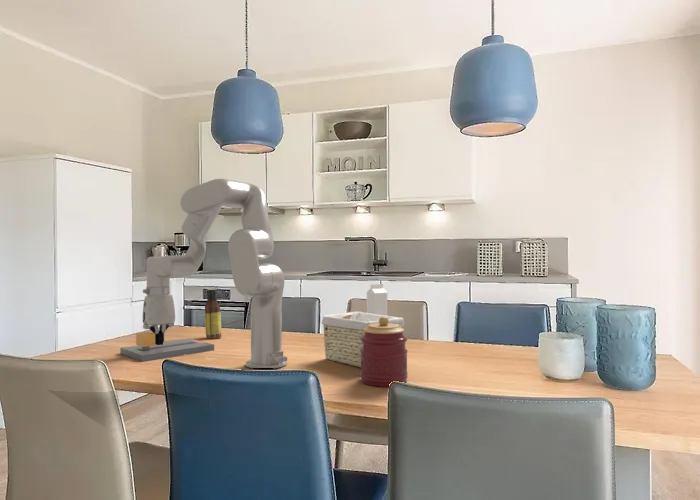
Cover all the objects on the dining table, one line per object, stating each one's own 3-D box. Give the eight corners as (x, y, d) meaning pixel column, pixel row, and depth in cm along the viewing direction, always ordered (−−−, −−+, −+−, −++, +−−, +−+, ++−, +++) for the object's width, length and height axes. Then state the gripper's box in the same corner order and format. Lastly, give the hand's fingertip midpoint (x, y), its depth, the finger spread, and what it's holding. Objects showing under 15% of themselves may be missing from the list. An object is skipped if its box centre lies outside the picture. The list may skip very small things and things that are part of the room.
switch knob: (155, 348, 177) (155, 333, 177) (143, 350, 174) (143, 335, 174) (147, 346, 181) (147, 331, 181) (136, 347, 178) (136, 333, 178)
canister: (404, 375, 149) (404, 313, 149) (411, 387, 136) (410, 319, 136) (359, 375, 148) (358, 313, 148) (361, 387, 135) (361, 320, 135)
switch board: (214, 350, 186) (214, 344, 186) (142, 361, 168) (142, 355, 168) (189, 343, 199) (189, 338, 199) (120, 353, 180) (120, 347, 180)
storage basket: (319, 359, 171) (319, 314, 171) (357, 352, 181) (357, 310, 181) (367, 372, 153) (367, 322, 152) (406, 364, 163) (406, 317, 163)
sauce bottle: (223, 336, 214) (223, 288, 214) (218, 339, 208) (218, 289, 208) (208, 336, 215) (208, 288, 215) (202, 339, 209) (202, 289, 209)
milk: (366, 339, 207) (366, 284, 207) (379, 338, 210) (378, 283, 210) (375, 341, 201) (374, 284, 201) (388, 340, 205) (387, 284, 205)
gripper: (141, 293, 173) (141, 348, 173) (183, 290, 183) (184, 342, 183) (132, 292, 178) (133, 346, 178) (174, 289, 189) (174, 340, 189)
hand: (159, 344), depth 181 cm, fingers closed
